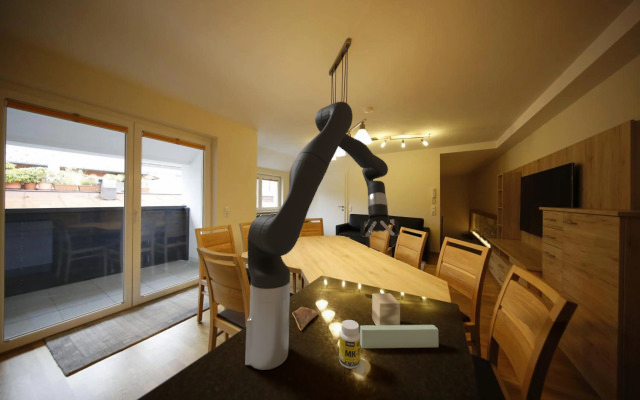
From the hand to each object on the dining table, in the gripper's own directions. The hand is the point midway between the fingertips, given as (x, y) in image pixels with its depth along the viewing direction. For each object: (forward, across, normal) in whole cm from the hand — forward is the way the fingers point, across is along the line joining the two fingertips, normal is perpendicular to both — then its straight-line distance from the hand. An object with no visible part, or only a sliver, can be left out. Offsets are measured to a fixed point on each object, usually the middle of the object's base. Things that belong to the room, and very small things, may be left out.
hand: (380, 247), depth 76 cm
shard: (+24, -23, -12) cm, 36 cm away
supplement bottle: (+30, -6, -23) cm, 38 cm away
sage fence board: (+27, +4, -13) cm, 30 cm away
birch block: (+24, 0, -5) cm, 25 cm away
